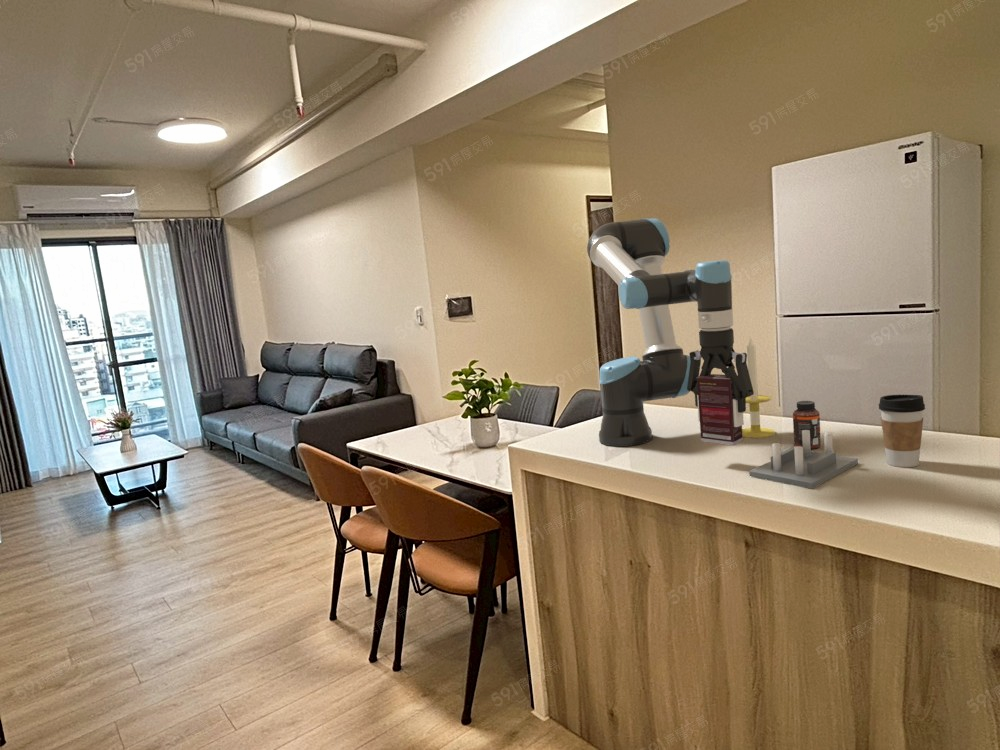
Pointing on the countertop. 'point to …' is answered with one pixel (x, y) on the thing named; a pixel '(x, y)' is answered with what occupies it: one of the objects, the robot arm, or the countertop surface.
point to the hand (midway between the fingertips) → (720, 422)
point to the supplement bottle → (806, 423)
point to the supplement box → (717, 410)
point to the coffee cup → (902, 428)
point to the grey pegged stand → (804, 464)
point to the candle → (755, 400)
